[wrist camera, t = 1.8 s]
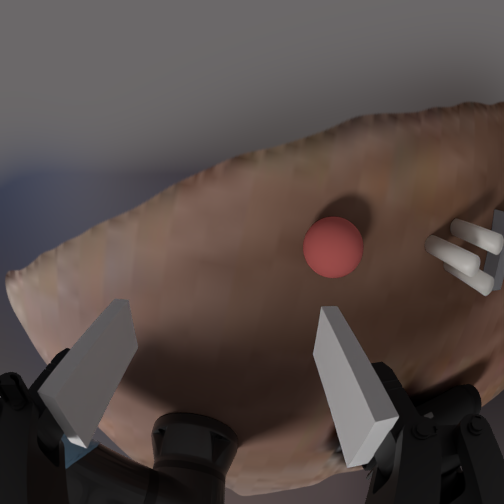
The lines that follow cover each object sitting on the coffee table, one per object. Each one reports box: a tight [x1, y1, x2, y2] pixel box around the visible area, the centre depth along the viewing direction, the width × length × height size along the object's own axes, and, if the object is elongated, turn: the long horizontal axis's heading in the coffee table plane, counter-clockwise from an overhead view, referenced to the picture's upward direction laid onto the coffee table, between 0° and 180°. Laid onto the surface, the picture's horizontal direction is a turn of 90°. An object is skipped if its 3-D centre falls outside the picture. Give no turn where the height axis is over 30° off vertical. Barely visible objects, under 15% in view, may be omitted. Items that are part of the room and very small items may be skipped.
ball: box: [303, 217, 363, 278], centre depth 26 cm, size 6×6×6 cm
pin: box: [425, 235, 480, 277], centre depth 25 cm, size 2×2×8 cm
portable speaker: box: [362, 384, 481, 470], centre depth 34 cm, size 26×10×10 cm, turn 103°
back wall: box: [483, 209, 504, 291], centre depth 28 cm, size 3×12×3 cm, turn 179°
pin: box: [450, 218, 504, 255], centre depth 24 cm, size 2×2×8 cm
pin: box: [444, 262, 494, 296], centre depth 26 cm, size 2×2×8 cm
